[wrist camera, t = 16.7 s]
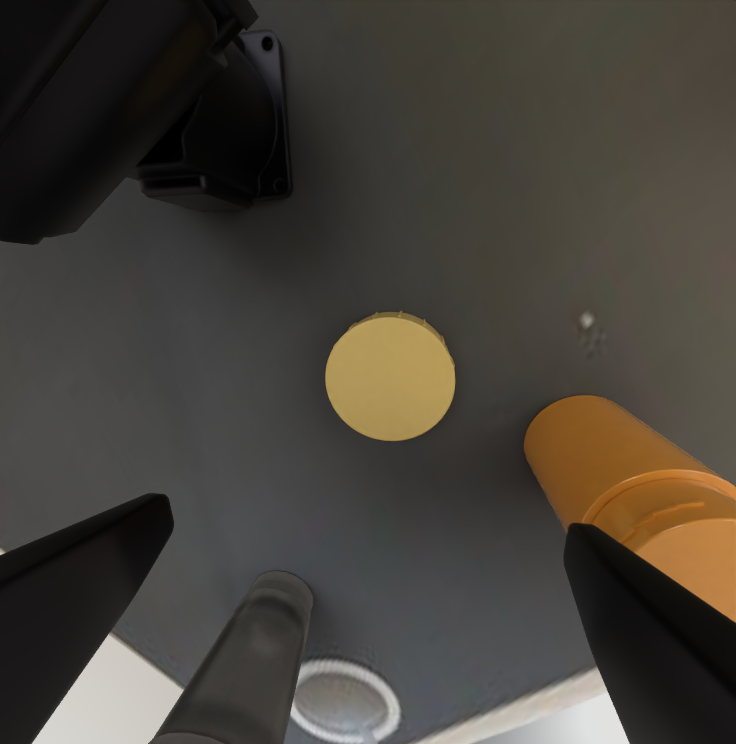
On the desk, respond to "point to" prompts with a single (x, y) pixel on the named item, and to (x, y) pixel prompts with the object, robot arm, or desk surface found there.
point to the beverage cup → (247, 670)
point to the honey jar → (638, 492)
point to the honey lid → (390, 376)
